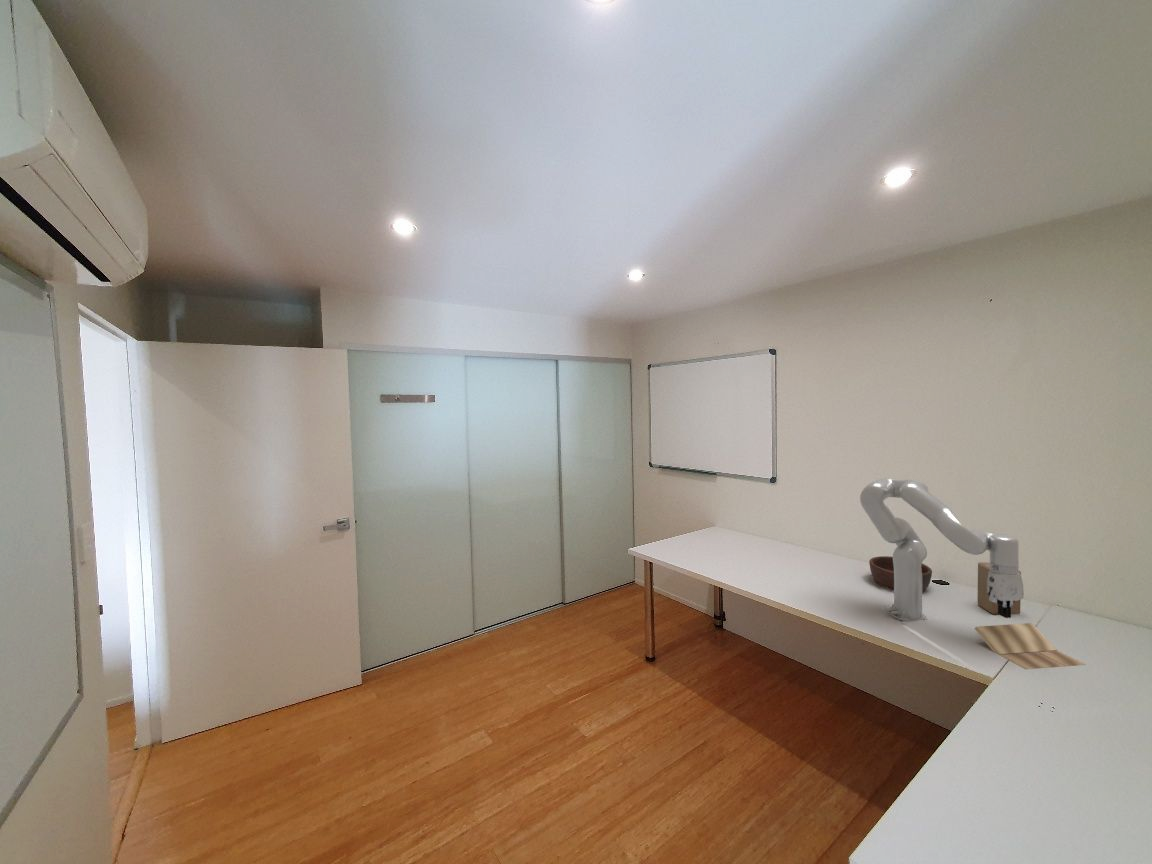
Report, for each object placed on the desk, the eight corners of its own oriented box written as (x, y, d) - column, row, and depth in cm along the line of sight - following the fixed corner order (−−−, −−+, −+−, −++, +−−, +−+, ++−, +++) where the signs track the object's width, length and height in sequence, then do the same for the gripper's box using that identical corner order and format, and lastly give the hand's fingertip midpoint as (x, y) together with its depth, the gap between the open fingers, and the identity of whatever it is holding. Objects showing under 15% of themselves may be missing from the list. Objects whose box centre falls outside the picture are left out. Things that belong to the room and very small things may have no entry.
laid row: (1025, 673, 140) (1025, 668, 140) (999, 658, 148) (1000, 654, 148) (1086, 668, 141) (1086, 664, 141) (1058, 654, 149) (1058, 650, 149)
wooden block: (1021, 617, 175) (1022, 571, 173) (993, 615, 177) (994, 570, 175) (1002, 606, 184) (1003, 562, 183) (976, 604, 186) (976, 561, 185)
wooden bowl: (913, 575, 219) (913, 556, 218) (944, 597, 195) (944, 576, 194) (860, 573, 225) (860, 555, 224) (883, 594, 200) (883, 573, 200)
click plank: (996, 655, 149) (999, 654, 148) (974, 628, 157) (976, 626, 156) (1054, 651, 150) (1057, 650, 149) (1029, 624, 158) (1031, 622, 157)
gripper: (995, 573, 151) (996, 622, 151) (1034, 570, 151) (1034, 619, 152) (974, 566, 158) (975, 612, 159) (1011, 563, 159) (1012, 610, 160)
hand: (1004, 616), depth 156 cm, fingers closed
